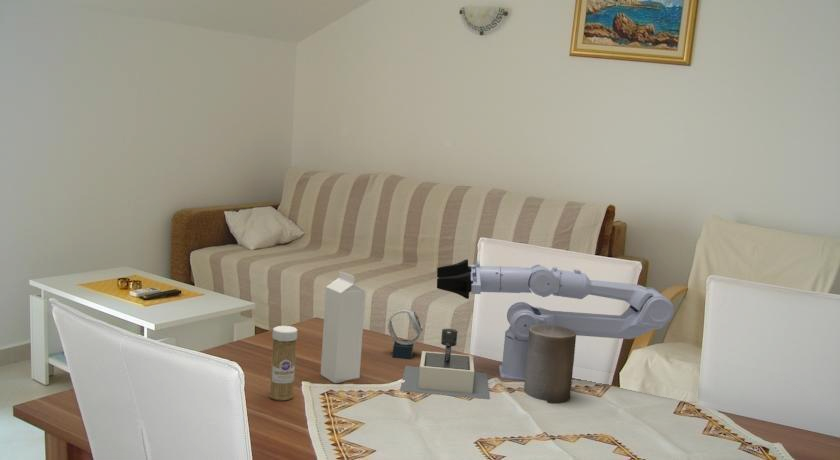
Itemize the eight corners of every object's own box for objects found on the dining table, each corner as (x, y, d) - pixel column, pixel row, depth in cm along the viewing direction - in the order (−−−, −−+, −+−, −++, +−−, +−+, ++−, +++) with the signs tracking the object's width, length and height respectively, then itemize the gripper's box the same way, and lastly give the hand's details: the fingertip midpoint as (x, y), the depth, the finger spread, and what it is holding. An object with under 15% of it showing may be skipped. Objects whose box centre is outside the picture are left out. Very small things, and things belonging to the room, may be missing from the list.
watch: (419, 361, 168) (423, 314, 166) (384, 358, 168) (388, 311, 167) (421, 354, 173) (424, 309, 172) (387, 351, 174) (390, 305, 172)
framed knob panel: (471, 375, 160) (472, 355, 159) (472, 393, 149) (474, 371, 148) (420, 370, 160) (422, 350, 159) (418, 388, 149) (419, 366, 148)
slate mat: (486, 374, 162) (486, 373, 162) (490, 401, 146) (490, 399, 146) (405, 367, 163) (405, 365, 163) (399, 392, 147) (399, 390, 147)
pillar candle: (576, 394, 154) (583, 324, 153) (560, 406, 146) (567, 333, 144) (533, 383, 159) (539, 316, 157) (515, 395, 151) (521, 324, 149)
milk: (334, 384, 149) (341, 277, 146) (320, 374, 154) (326, 271, 151) (360, 379, 153) (367, 275, 150) (345, 370, 157) (351, 269, 154)
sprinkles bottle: (275, 402, 136) (279, 332, 135) (265, 394, 140) (268, 326, 138) (297, 399, 139) (301, 330, 137) (286, 391, 143) (290, 323, 141)
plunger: (467, 359, 158) (470, 327, 157) (467, 372, 149) (470, 338, 148) (427, 355, 158) (429, 323, 157) (425, 368, 150) (428, 334, 149)
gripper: (497, 252, 167) (437, 251, 167) (502, 272, 153) (437, 270, 153) (496, 282, 169) (436, 280, 169) (501, 304, 155) (436, 302, 155)
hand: (436, 277), depth 161 cm, fingers open, 7 cm apart
